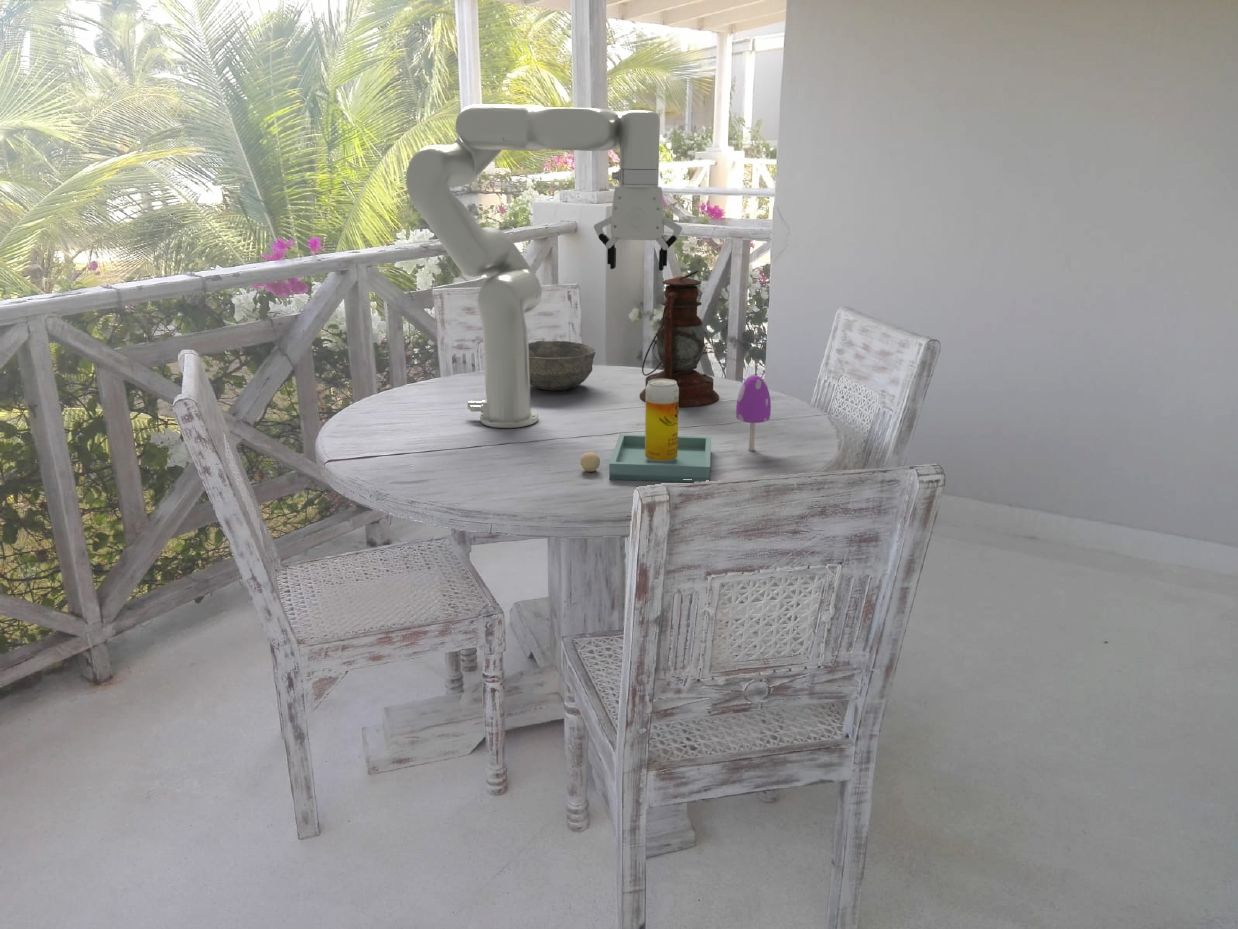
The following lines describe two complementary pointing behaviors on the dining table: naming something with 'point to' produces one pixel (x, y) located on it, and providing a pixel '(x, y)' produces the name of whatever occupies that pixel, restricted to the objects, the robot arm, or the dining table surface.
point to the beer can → (661, 420)
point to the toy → (753, 404)
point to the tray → (686, 465)
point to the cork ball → (590, 461)
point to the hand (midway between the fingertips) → (637, 268)
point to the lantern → (682, 344)
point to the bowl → (559, 364)
